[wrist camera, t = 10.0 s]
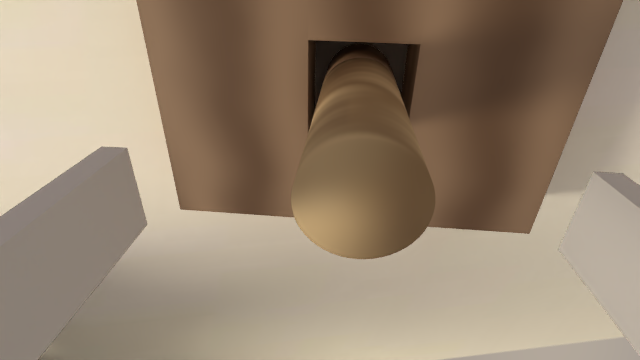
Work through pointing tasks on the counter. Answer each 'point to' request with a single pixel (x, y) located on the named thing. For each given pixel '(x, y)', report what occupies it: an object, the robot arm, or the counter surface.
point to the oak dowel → (362, 163)
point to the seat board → (417, 94)
